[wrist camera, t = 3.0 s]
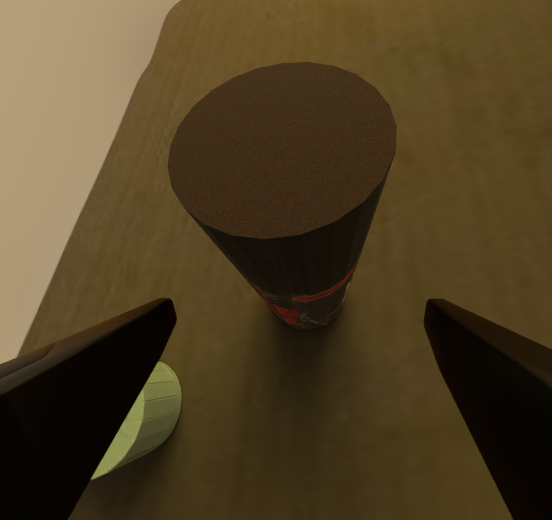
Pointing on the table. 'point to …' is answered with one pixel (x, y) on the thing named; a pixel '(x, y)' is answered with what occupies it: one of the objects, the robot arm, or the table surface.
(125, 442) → the stoneware cup
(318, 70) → the deodorant
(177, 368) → the table surface
